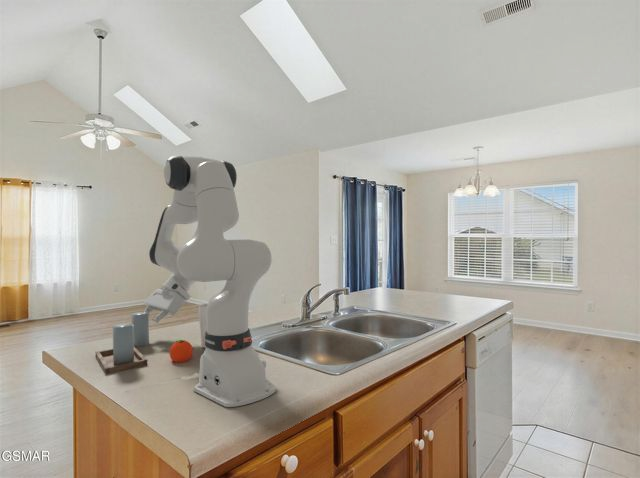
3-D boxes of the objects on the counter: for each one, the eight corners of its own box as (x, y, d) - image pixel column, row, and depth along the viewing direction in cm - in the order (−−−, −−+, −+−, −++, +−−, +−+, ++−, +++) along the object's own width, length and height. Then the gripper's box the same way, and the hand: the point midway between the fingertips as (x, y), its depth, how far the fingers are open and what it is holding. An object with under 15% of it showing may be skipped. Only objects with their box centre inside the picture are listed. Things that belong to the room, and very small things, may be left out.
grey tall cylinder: (136, 365, 109) (135, 325, 109) (115, 369, 106) (114, 329, 106) (131, 360, 114) (131, 322, 113) (111, 364, 110) (111, 325, 110)
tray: (147, 368, 110) (147, 359, 110) (105, 377, 103) (105, 368, 103) (132, 352, 124) (132, 344, 124) (95, 359, 117) (95, 351, 117)
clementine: (164, 361, 115) (164, 339, 115) (185, 356, 120) (185, 335, 120) (175, 368, 109) (175, 345, 109) (197, 362, 114) (196, 340, 114)
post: (150, 347, 130) (150, 313, 129) (134, 350, 126) (133, 316, 126) (146, 343, 134) (146, 311, 134) (130, 346, 131) (129, 313, 130)
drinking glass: (221, 343, 133) (221, 303, 132) (214, 349, 126) (214, 307, 126) (204, 343, 133) (203, 303, 133) (196, 349, 127) (195, 306, 126)
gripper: (155, 282, 145) (130, 310, 137) (181, 287, 131) (155, 319, 124) (166, 291, 148) (142, 320, 141) (193, 297, 135) (168, 329, 127)
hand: (148, 319), depth 132 cm, fingers open, 8 cm apart
